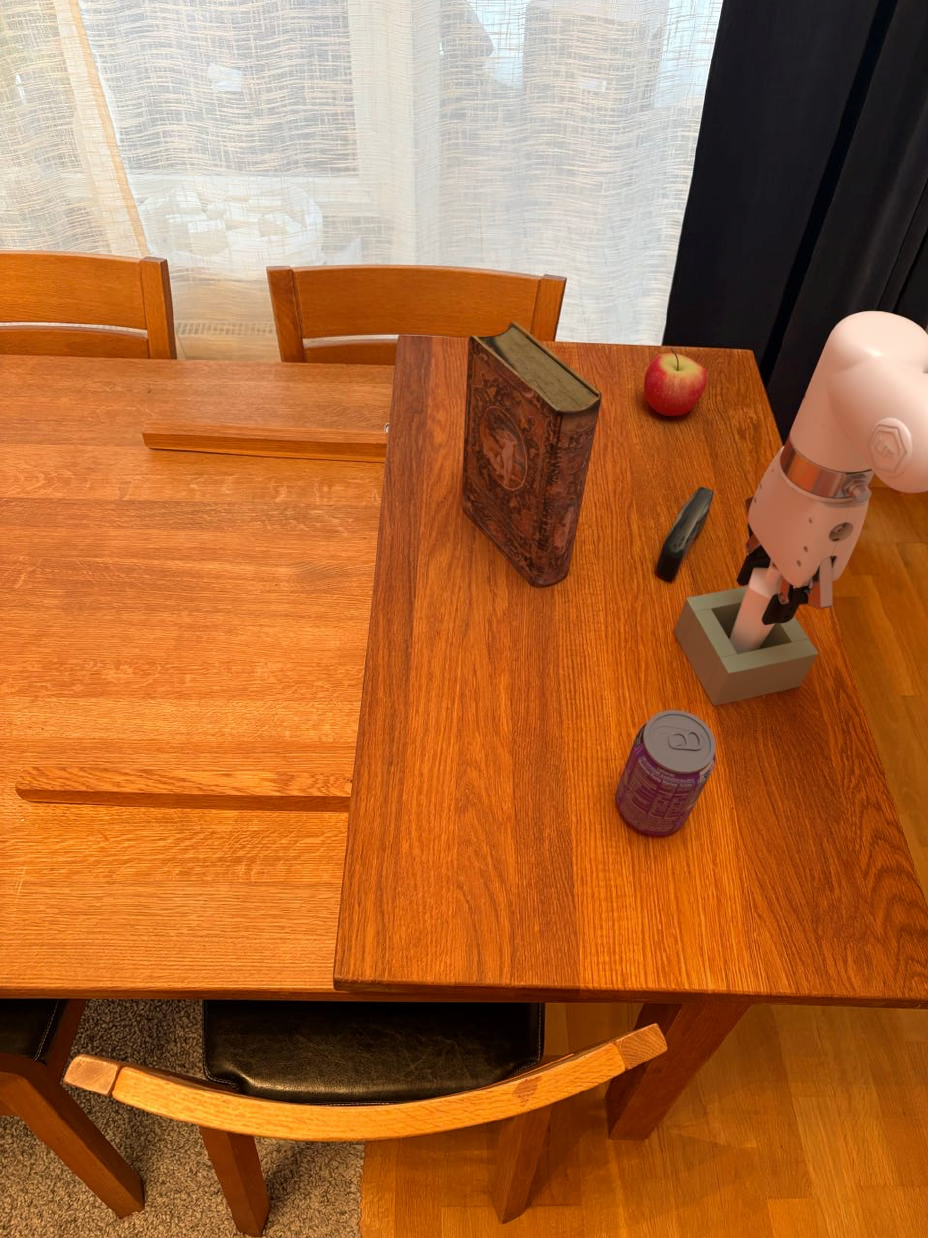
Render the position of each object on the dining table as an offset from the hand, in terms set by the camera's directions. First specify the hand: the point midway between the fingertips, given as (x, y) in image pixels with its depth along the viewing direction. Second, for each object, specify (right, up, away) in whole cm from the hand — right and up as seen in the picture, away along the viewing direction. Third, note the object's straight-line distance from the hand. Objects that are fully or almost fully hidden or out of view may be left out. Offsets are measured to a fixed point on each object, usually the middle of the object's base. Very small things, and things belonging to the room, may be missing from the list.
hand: (763, 599), depth 86 cm
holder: (0, -6, +8) cm, 10 cm away
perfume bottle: (0, -6, +8) cm, 10 cm away
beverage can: (-12, -20, -3) cm, 24 cm away
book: (-24, +7, +19) cm, 31 cm away
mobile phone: (-3, +7, +19) cm, 21 cm away
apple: (-1, +28, +36) cm, 46 cm away
